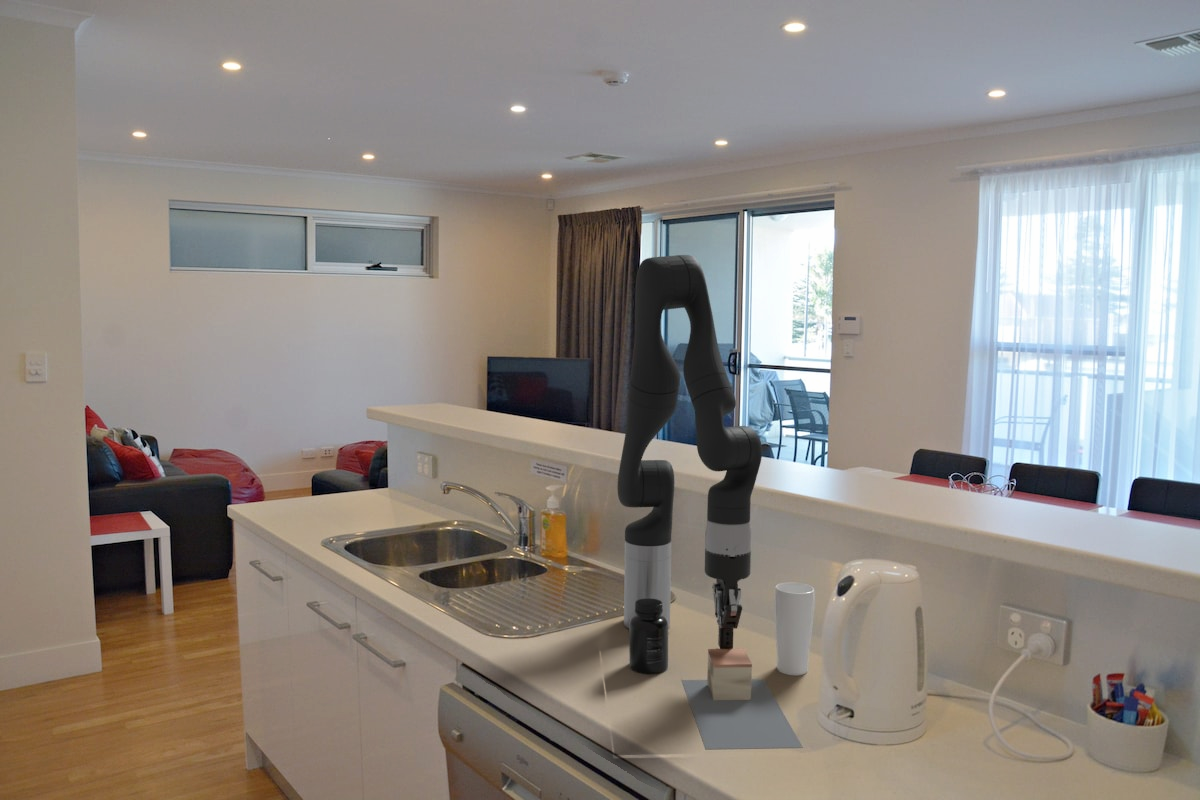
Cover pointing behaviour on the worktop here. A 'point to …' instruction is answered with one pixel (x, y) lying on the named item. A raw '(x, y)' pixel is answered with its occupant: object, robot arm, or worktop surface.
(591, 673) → the worktop surface
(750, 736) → the slate mat
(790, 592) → the drinking glass
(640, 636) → the supplement bottle
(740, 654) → the birch cube
